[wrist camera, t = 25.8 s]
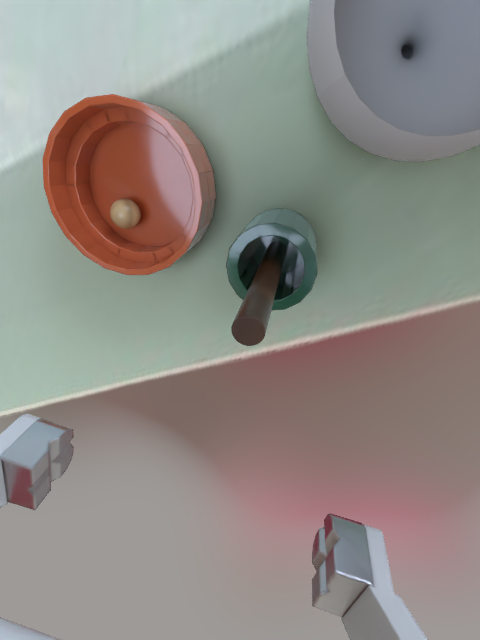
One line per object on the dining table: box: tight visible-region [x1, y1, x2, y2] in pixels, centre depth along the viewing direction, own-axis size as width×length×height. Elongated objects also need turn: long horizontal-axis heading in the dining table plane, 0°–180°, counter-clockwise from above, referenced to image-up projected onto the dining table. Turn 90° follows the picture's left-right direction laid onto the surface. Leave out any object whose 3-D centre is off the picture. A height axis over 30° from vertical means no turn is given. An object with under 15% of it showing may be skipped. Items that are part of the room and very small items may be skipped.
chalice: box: [307, 0, 480, 162], centre depth 21 cm, size 14×14×15 cm
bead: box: [110, 199, 141, 229], centre depth 36 cm, size 3×3×3 cm
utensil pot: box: [226, 208, 317, 310], centre depth 33 cm, size 8×8×8 cm
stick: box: [232, 241, 286, 346], centre depth 28 cm, size 2×2×18 cm
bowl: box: [43, 94, 216, 275], centre depth 34 cm, size 15×15×6 cm
